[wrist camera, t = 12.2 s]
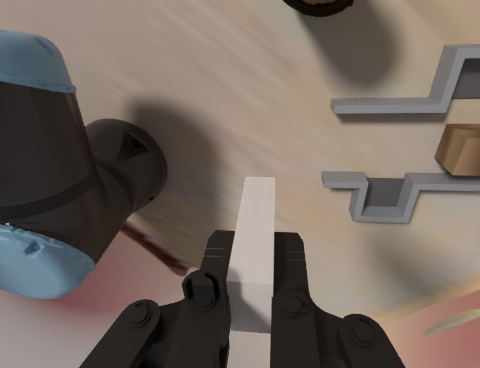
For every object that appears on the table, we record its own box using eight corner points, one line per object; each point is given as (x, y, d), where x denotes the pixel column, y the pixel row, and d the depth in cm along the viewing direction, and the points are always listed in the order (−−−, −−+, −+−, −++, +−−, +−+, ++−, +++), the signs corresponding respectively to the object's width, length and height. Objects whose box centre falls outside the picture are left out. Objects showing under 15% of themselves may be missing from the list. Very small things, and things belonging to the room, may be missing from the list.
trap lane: (317, 208, 47) (319, 220, 44) (337, 48, 34) (342, 52, 32) (468, 213, 44) (480, 225, 42) (550, 41, 32) (574, 44, 29)
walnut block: (434, 157, 40) (452, 175, 36) (446, 123, 38) (467, 138, 33) (472, 158, 40) (495, 176, 35) (487, 123, 37) (514, 138, 33)
